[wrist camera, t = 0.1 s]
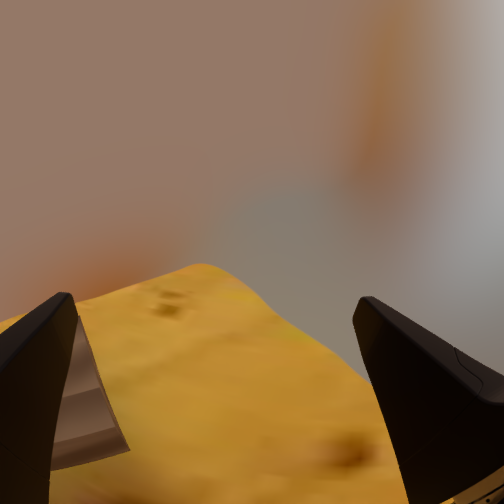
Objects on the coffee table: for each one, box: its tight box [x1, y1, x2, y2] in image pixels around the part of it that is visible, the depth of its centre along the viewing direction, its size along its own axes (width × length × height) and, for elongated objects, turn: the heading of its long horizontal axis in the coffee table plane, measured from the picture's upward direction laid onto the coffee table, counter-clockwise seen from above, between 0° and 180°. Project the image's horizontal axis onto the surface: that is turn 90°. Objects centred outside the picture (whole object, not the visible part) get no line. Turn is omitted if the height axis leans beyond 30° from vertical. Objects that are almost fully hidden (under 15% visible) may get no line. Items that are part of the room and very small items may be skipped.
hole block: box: [50, 315, 130, 471], centre depth 16 cm, size 12×14×4 cm
